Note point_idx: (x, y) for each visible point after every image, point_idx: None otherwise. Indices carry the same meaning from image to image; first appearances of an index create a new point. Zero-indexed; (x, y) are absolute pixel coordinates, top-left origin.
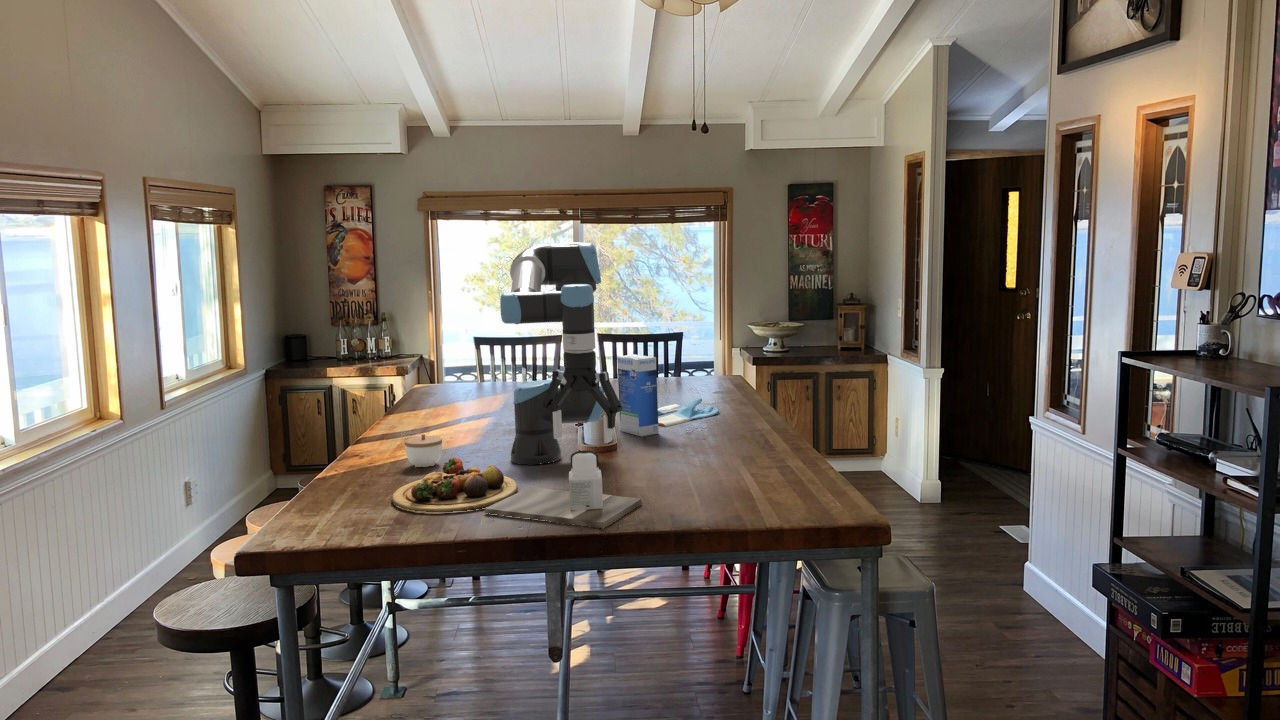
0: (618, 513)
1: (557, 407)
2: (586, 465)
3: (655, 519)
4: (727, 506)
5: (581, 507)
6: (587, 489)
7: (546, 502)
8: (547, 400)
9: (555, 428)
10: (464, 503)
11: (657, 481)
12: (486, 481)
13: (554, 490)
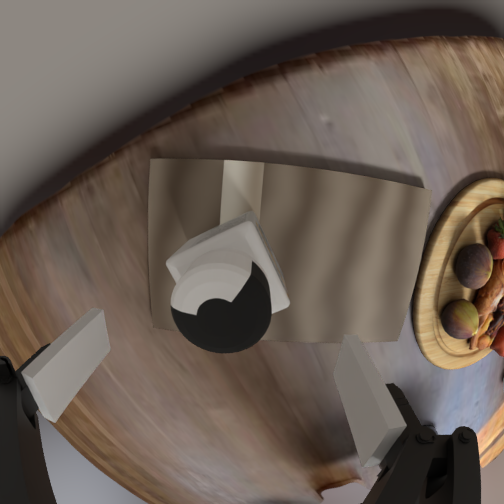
0: (148, 228)
1: (386, 470)
2: (195, 262)
3: (97, 245)
4: (53, 329)
5: (228, 221)
6: (206, 236)
7: (334, 259)
8: (461, 469)
9: (361, 363)
10: (468, 221)
11: (200, 426)
12: (466, 300)
13: None
